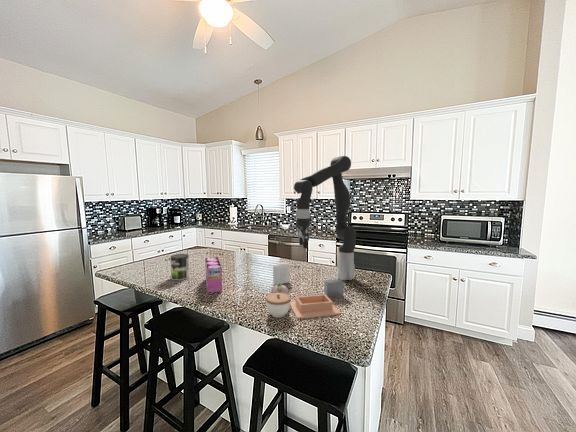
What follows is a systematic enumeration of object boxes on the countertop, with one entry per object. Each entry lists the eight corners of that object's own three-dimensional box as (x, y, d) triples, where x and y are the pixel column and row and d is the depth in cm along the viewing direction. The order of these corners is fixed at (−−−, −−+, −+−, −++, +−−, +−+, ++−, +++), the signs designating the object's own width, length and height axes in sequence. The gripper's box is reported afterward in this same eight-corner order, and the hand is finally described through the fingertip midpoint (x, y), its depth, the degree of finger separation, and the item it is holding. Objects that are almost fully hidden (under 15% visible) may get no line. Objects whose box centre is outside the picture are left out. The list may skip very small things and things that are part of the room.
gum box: (205, 279, 159) (204, 257, 157) (218, 277, 161) (218, 256, 160) (207, 293, 136) (206, 268, 135) (222, 291, 139) (222, 266, 138)
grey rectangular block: (340, 293, 137) (340, 279, 136) (343, 296, 133) (343, 281, 132) (324, 295, 135) (324, 280, 134) (326, 298, 131) (327, 282, 130)
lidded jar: (270, 322, 106) (270, 300, 105) (262, 311, 116) (262, 291, 115) (294, 317, 110) (294, 296, 109) (284, 307, 120) (284, 287, 119)
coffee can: (180, 281, 154) (179, 258, 152) (167, 279, 157) (166, 256, 156) (192, 276, 163) (192, 254, 162) (180, 274, 167) (179, 253, 166)
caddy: (288, 303, 124) (288, 294, 124) (327, 299, 129) (327, 291, 128) (297, 319, 109) (297, 309, 108) (340, 314, 113) (341, 304, 113)
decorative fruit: (291, 306, 121) (291, 285, 120) (274, 308, 119) (274, 287, 118) (285, 298, 130) (285, 279, 129) (269, 300, 128) (269, 280, 127)
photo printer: (286, 280, 157) (286, 260, 155) (290, 282, 153) (290, 262, 152) (272, 283, 151) (272, 263, 150) (275, 286, 147) (275, 264, 146)
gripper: (313, 218, 133) (313, 249, 134) (306, 215, 147) (306, 243, 148) (299, 218, 131) (299, 249, 133) (293, 216, 145) (293, 244, 147)
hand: (303, 246), depth 141 cm, fingers open, 8 cm apart
